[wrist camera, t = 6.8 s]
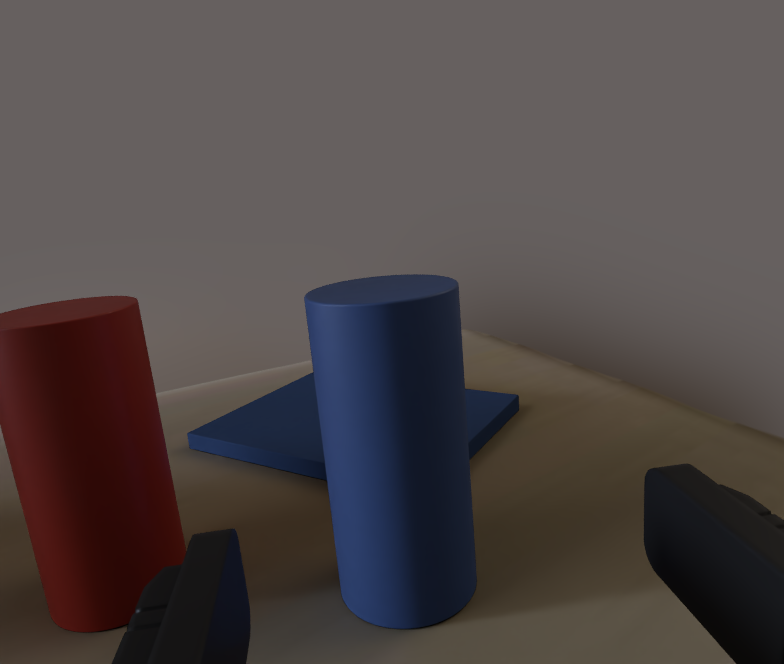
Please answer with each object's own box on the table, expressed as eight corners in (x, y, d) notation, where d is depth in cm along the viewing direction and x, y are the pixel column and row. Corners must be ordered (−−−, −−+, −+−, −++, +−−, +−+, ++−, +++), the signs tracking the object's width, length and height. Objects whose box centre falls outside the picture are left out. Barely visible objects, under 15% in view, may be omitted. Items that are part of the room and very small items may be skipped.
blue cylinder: (313, 603, 22) (271, 301, 19) (387, 530, 26) (361, 273, 23) (437, 649, 19) (408, 306, 16) (498, 560, 23) (483, 274, 20)
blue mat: (189, 448, 36) (186, 433, 36) (316, 383, 46) (314, 371, 45) (425, 504, 27) (424, 484, 27) (519, 409, 37) (518, 394, 37)
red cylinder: (23, 606, 23) (-55, 324, 20) (138, 537, 27) (85, 294, 24) (102, 651, 20) (24, 333, 18) (216, 566, 24) (167, 297, 22)
